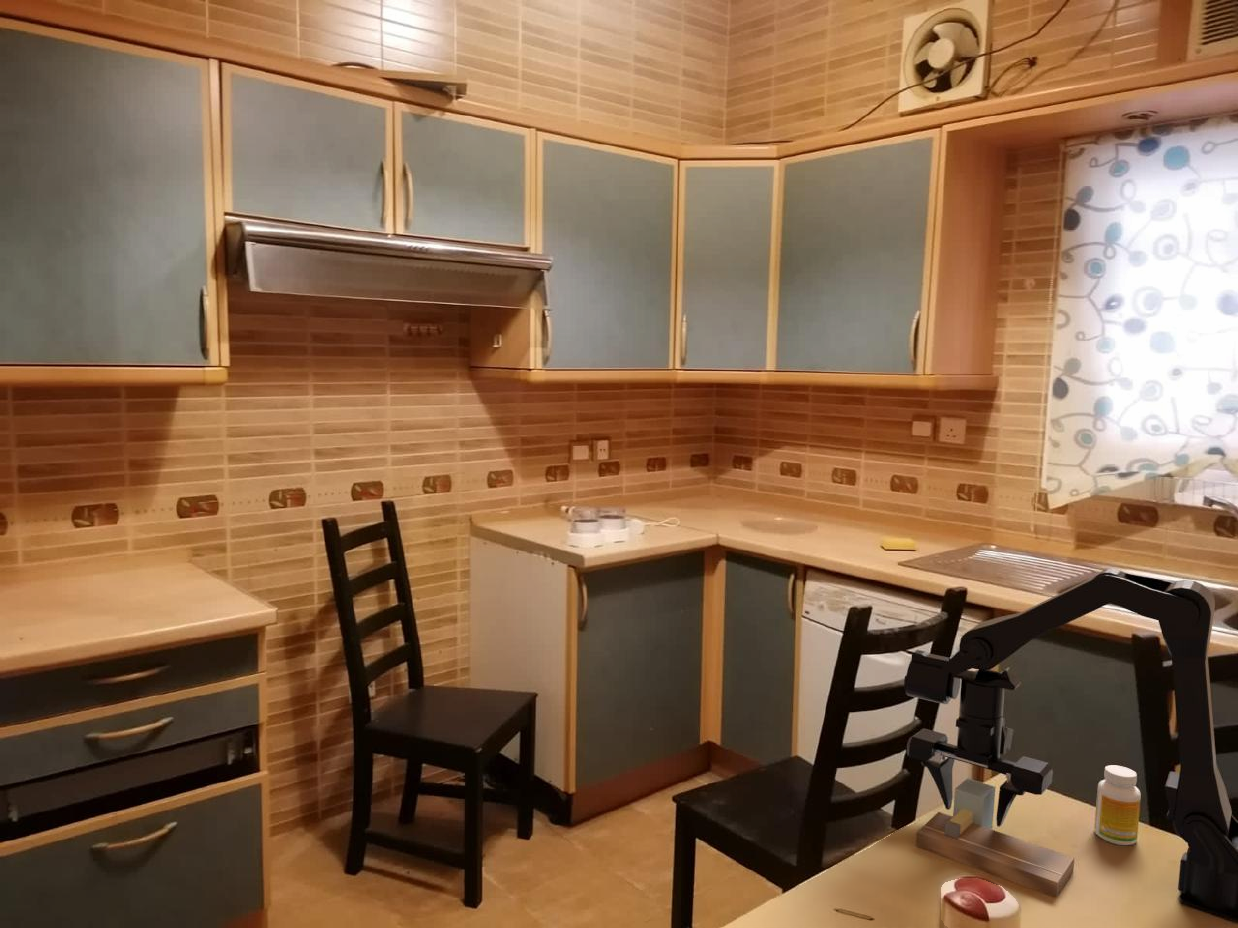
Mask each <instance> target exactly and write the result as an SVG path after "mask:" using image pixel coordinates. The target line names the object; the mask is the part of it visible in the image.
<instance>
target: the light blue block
mask: <svg viewBox="0 0 1238 928" xmlns="http://www.w3.org/2000/svg"><path fill="white" fill-rule="evenodd" d="M953 796H954V797H953V798H954V799H953V811H952V813H953V814H952V816H953V818H952V819H951V820H950V821H949V820H947V821H946V822H945V834H944V835H947V836H949V837H952V838H955V839H959V838H960V834H961V833H962V832H963V831H964V830H965V829H966V828H968V827H969V826H970V825H971V824H972V823H973V824H976V825H979V826H982V827H985V828H988V829H991V830H992V828H993V824H994V813H995V798H996V786H994V785H992V784H991V785H990V784H988V783H984V782H982V781H979V780H975V779H971V778H966V779H965V780H963V781H962V782H961V783H960V784H958V786H956V787H955V789H954V795H953Z"/></svg>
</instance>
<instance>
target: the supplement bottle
mask: <svg viewBox="0 0 1238 928" xmlns="http://www.w3.org/2000/svg"><path fill="white" fill-rule="evenodd" d="M1103 773H1104V774H1103V776H1104V777H1103V778H1104V779H1103V780H1100V781H1099V782H1098V784H1097V791H1096V792H1097V793H1096V804H1095V814H1094V815H1095V816H1094V825H1093V827H1094V833H1095V835H1097V836H1098V837H1099V838H1101V839H1102V840H1104V841H1106V842H1108V843H1112V844H1114V845H1118V846H1119V845H1121V846H1130V845H1134V844H1135V843H1137V841H1138V834H1139V823H1140V822H1139V821H1140V811H1141V801H1142V800H1141V799H1142V797H1141V796H1142V794H1141V791H1140V789H1139V788H1138V787H1137V786H1136V785H1137V780H1138V775H1137V772H1136V771H1134V770H1132V769H1131V768H1128V767H1125V766H1122V765H1115V764H1113V765H1112V764H1111V765H1109V764H1108V765H1106V766H1105V767H1104V772H1103Z"/></svg>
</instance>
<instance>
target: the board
mask: <svg viewBox="0 0 1238 928" xmlns="http://www.w3.org/2000/svg"><path fill="white" fill-rule="evenodd" d="M952 818H953V815H950V814H946V813H944V812H941V811H938V812H937V813H935V814H934V815H933V816H932V817H931V818H930V819H929V820H928V821H927V822H926V823H925V824H924V825H922V827H921V828H920V829H918V830H917V831H916V836H915V837H916V838H915V847H917V848H920V849H923V850H926V851H928V852H930V853H934V854H936V855H939V856H942V857H945V858H948V859H949V860H953V861H955V862H958V863H961V864H962V865H963V864H964V865H966V866H969V867H972V868H975V869H977V870H979V871H982V872H985V873H988V874H991V875H993V876H996V877H998V878H1000V879H1004V880H1006V881H1010V882H1013V883H1015V884H1018V885H1020V886H1024V887H1026V888H1029V889H1031V890H1034V891H1037V892H1039V893H1042V894H1045V895H1048V896H1050V897H1052V898H1057V897H1058V896H1059V895H1060V893H1061V891H1062V890H1063V888H1064V887H1065V885H1066V884H1067V882H1068V881H1069V879H1070V878H1071V876H1072V875H1073V873H1074V867H1075V857H1074V856H1071V855H1068V854H1065V853H1062V852H1059V851H1056V850H1053V849H1051V848H1048V847H1044V846H1041V845H1038V844H1035V843H1032V842H1029V841H1026V840H1023V839H1020V838H1018V837H1014V836H1012V835H1009V834H1005V833H1002V832H999V831H996V830H994V829H992V828H991V829H988V828H985V827H982V826H979V825H976V824H973V823H972V824H971V825H970V826H969V827H968V828H966V829H965V830H964V831H963V832H962V833H961V834H960V838H959V839H955V838H952V837H949V836H947V835H944V834H945V822H946V821H947V820H949V821H950V820H951V819H952Z"/></svg>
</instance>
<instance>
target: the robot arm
mask: <svg viewBox="0 0 1238 928" xmlns="http://www.w3.org/2000/svg"><path fill="white" fill-rule="evenodd" d="M1215 600H1216V599H1215V598H1214V595H1213V593H1212V590H1210V589H1209V588H1208V587H1206V586H1205V585H1204V584H1203V583H1200V582H1198V581H1195V580H1191V579H1182V580H1176V581H1170V580H1165V579H1163V578H1159V577H1152V576H1147V575H1141V574H1135V573H1134V574H1133V573H1129V572H1126V571H1123V570H1120V569H1117V568H1112V567H1111V568H1110V567H1109V568H1105V569H1103V570H1101V571H1100V572H1099V573H1097V574H1096V575H1095V576H1093V577H1091V578H1089V579H1087V580H1085V581H1083V582H1080V583H1078V584H1076V585H1074V586H1072V587H1070V588H1069V589H1066V590H1064V591H1062V592H1060V593H1058V594H1056V595H1054V596H1052V597H1050V598H1048V599H1046V600H1044V601H1042V602H1039V603H1037V604H1036V605H1033V606H1032V607H1029V608H1027V609H1025V610H1023V611H1021V612H1017V613H1012V614H1007V615H1003V616H999V617H995V618H992V619H989V620H985V621H981V622H979V623H977V625H975V626H973V627H972V628H971V629H969V630H968V631H966V632H965V633H964V634H963V635H962V636H961V638H960V640H959V641H960V642H959V646H958V647H959V650H957V651H956V652H955V653H953V654H952V655H951V656H949V657H948V656H944V655H938V654H933V653H930V652H927V651H925V650H920V649H916V650H915V651H913V652H912V653H911V660H910V662H909V664H908V666H907V671H906V675H905V676H904V679H903V680H904V681H903V684H904V686H903V688H904V693H905V694H906V695H907V696H909V697H913V698H917V699H921V700H926V701H929V702H934V703H938V704H943V705H947V704H949V703H950V701H951V699H952V700H956V699H957V698H958V696H959V695H960V696H959V709H958V712H959V713H958V718H956V719H955V727H956V728H957V739H956V742H957V743H956V745H955V744H952V743H948V740H949V739H948V736H947V734H946V733H942V732H938V731H935V730H931V729H928V728H925V727H923V728H922V729H920V730H919V731H918V732H916V733H914V735H912V736H910V738H908V741H907V743H906V755H907V756H908V757H910V758H914V759H916V760H918V761H919V760H920V761H921V765H922V766H923V767H925V768H927V770H928V771H929V774H930V775H931V777H932V779H933V781H934V783H935V785H936V787H937V789H938V790H937V791H938V792H939V795H940V797H941V800H942V802H943V805H944V807H945V809H946V810H947V811H949V810H950V809H951V808H952V802H953V768H954V764H955V761H958V762H962V763H966V764H969V765H973V766H975V767H979V768H982V769H985V770H990V771H993V772H996V773H1000V774H1003V775H1005V778H1006V780H1005V781H1004V782H1003V783H1002V784H1001V785H1000V786H999V791H998V792H999V793H998V801H997V809H996V826H997V827H999V828H1001V827H1002V825H1003V823H1004V821H1005V819H1006V817H1007V816H1008V812H1009V811H1010V809H1011V807H1012V804H1013V802H1014V800H1015V799H1016V797H1017V796H1024V795H1025V794H1026V793H1029V794H1032V795H1035V796H1037V795H1038V796H1039V795H1040V796H1041V795H1043V794H1044V792H1045V791H1046V790H1047V789H1048V788H1049V786H1051V784H1053V776H1054V775H1053V774H1054V771H1053V768H1052V766H1051V765H1050V762H1046V761H1043V760H1039V759H1035V758H1032V757H1028V756H1026V755H1025V756H1024V755H1023V756H1021V757H1020V758H1019V760H1017V762H1015V761H1011V760H1008V759H1005V758H1001V757H1000V756H1001V755H1003V756H1004V755H1005V754H1007V751H1010V750H1011V746H1012V745H1011V744H1012V740H1013V734H1014V729H1013V728H1012V727H1011V728H1010V727H1007V726H1005V717H1003V715H1004V714H1003V713H1004V701H1005V690H1009V691H1015V690H1016V689H1017V688H1018V687H1019V686H1020V685H1021V683H1022V681H1021V679H1020V678H1019V677H1018V676H1017V675H1015V674H1014V672H1013V671H1012V669H1011V668H1010V667H1006V668H1005V669H1004V670H1003V671H999V670H993V669H994V668H995V667H996V666H998V665H1000V664H1001V663H1002V662H1003V661H1005V660H1006V659H1008V658H1009V657H1010V656H1012V655H1013V654H1015V653H1016V652H1017V651H1019V650H1020V649H1021V648H1022V647H1023V646H1025V645H1027V644H1028V643H1029V642H1031V641H1032V640H1034V639H1036V638H1039V637H1041V636H1043V635H1045V634H1047V633H1049V632H1051V631H1053V630H1056V629H1058V628H1060V627H1062V626H1064V625H1067V624H1068V623H1071V622H1073V621H1075V620H1077V619H1078V618H1082V617H1083V616H1085V615H1087V614H1090V613H1092V612H1094V611H1096V610H1098V609H1100V608H1102V607H1105V606H1106V605H1109V604H1111V605H1113V606H1116V607H1117V606H1118V607H1120V608H1123V609H1125V610H1127V611H1129V612H1132V613H1134V614H1137V615H1139V616H1142V617H1146V618H1147V619H1151V620H1154V621H1158V624H1159V629H1160V631H1161V635H1162V638H1163V640H1164V643H1165V645H1166V648H1167V650H1168V653H1169V656H1170V659H1171V666H1172V679H1173V692H1174V704H1175V716H1176V717H1175V719H1176V728H1177V729H1176V730H1177V741H1178V742H1177V743H1178V753H1179V767H1180V770H1179V772H1175V771H1173V770H1172V771H1169V773H1168V777H1167V780H1166V782H1165V785H1164V791H1165V797H1166V799H1167V803H1168V810H1167V811H1168V812H1167V814H1166V820H1168V821H1170V820H1172V825H1173V829H1174V831H1175V833H1176V835H1177V836H1179V837H1180V838H1181V839H1182V840H1183V841H1184V842H1185V843H1187V846H1188V847H1187V850H1186V851H1185V852H1184V853H1183V854H1182V856H1181V857H1180V858H1181V859H1180V862H1179V863H1180V864H1179V874H1178V882H1177V884H1178V885H1177V890H1178V891H1179V892H1180V893H1181V894H1180V896H1179V902H1180V903H1181V904H1183V905H1186V906H1189V907H1192V908H1193V909H1194V908H1195V909H1198V910H1200V911H1203V912H1207V913H1210V914H1211V915H1212V914H1213V915H1215V916H1218V917H1221V918H1224V919H1227V920H1230V921H1233V922H1234V923H1235V922H1236V923H1238V820H1237V819H1236V817H1234V815H1233V814H1232V813H1233V811H1232V807H1231V804H1230V800H1229V796H1228V792H1227V789H1226V786H1225V785H1226V784H1225V783H1224V780H1223V778H1222V775H1221V773H1220V770H1219V767H1218V763H1217V758H1216V745H1215V730H1214V722H1213V720H1214V719H1213V717H1214V716H1213V708H1212V707H1213V706H1212V696H1211V695H1212V694H1211V693H1212V692H1211V680H1210V669H1209V657H1208V655H1209V649H1210V642H1211V636H1212V629H1213V622H1214V615H1215V607H1216V601H1215ZM972 669H977V671H975V670H972Z"/></svg>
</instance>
